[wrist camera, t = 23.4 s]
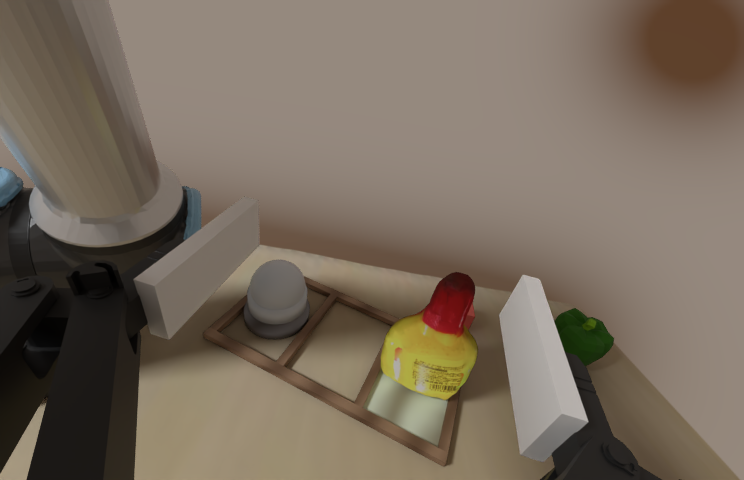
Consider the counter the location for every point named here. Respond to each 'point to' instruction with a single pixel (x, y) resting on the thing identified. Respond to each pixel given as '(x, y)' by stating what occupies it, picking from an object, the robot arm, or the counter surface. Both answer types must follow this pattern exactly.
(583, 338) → the bell pepper
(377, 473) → the counter surface
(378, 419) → the divided wooden frame
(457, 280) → the bottle
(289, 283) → the dome
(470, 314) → the die
